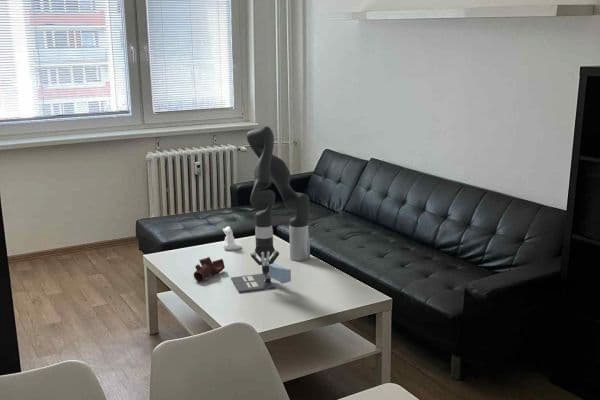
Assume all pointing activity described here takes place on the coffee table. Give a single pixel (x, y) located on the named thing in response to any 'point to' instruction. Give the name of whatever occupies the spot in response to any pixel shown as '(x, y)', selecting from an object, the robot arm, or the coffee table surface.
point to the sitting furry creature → (230, 240)
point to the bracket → (208, 268)
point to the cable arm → (279, 273)
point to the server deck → (252, 283)
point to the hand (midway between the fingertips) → (265, 273)
